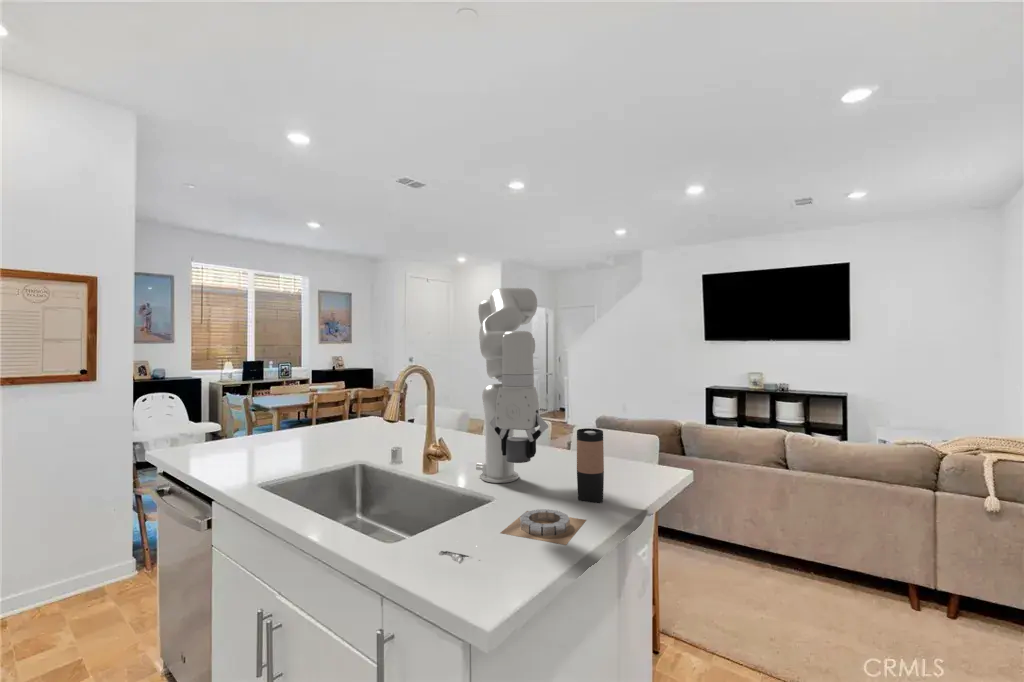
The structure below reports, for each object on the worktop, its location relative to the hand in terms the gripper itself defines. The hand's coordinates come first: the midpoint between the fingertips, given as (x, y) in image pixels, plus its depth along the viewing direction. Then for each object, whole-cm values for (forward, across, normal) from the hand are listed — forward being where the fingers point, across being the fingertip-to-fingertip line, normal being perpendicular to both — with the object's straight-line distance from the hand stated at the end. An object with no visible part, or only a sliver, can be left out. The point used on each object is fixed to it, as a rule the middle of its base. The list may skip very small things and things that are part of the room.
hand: (518, 455), depth 114 cm
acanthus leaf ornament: (+19, -6, -17) cm, 26 cm away
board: (+18, +6, +2) cm, 19 cm away
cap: (+1, 0, 0) cm, 1 cm away
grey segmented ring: (+17, +6, +1) cm, 18 cm away
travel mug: (+18, +9, +28) cm, 34 cm away
